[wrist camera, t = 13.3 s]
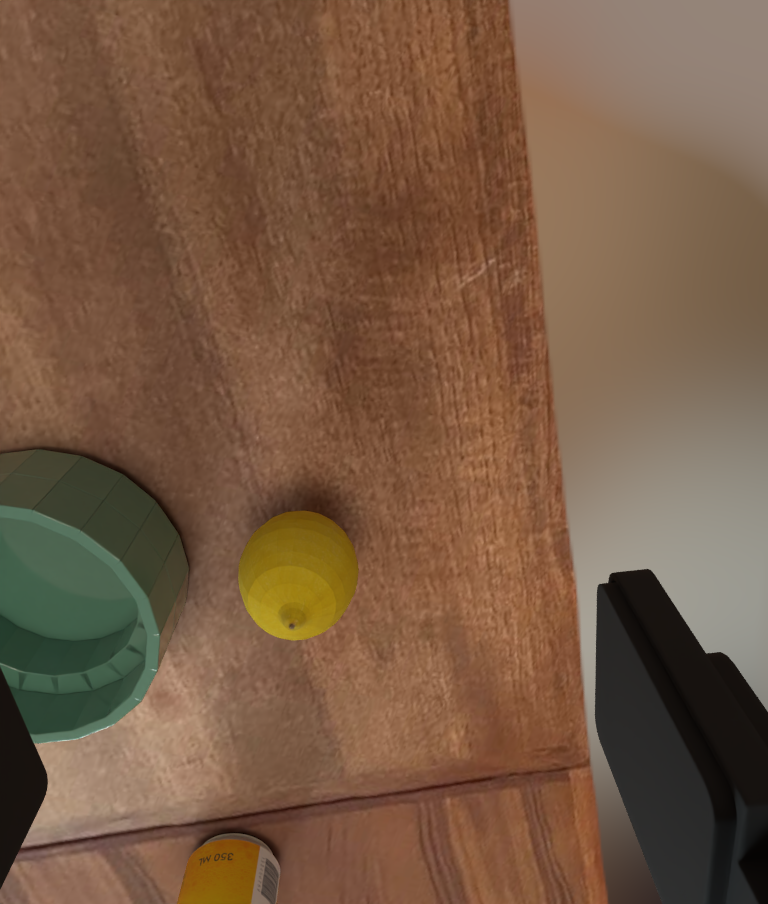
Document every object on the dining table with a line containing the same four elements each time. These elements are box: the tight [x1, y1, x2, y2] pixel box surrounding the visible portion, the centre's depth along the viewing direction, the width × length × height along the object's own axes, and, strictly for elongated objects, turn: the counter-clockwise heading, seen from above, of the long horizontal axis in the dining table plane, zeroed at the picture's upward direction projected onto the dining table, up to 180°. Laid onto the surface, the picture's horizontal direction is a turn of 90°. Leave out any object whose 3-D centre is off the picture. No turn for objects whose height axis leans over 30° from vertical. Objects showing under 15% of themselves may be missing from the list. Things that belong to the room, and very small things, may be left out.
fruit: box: [238, 511, 359, 640], centre depth 33 cm, size 6×6×8 cm
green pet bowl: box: [0, 449, 189, 744], centre depth 34 cm, size 13×13×6 cm
